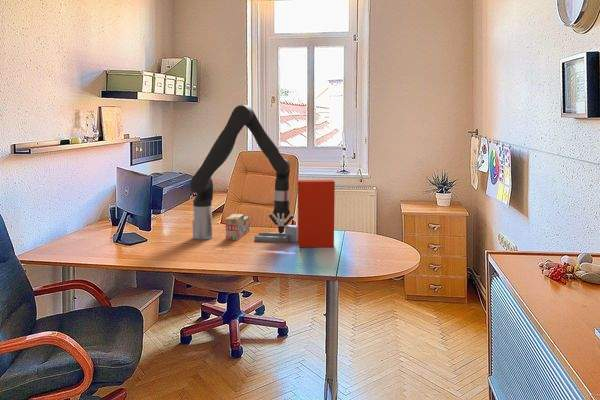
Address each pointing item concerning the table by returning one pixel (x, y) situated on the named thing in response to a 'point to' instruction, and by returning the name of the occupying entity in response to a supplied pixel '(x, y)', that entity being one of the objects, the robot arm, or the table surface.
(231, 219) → the white product box
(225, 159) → the robot arm
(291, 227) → the block
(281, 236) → the chute
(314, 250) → the table surface
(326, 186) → the file binder
